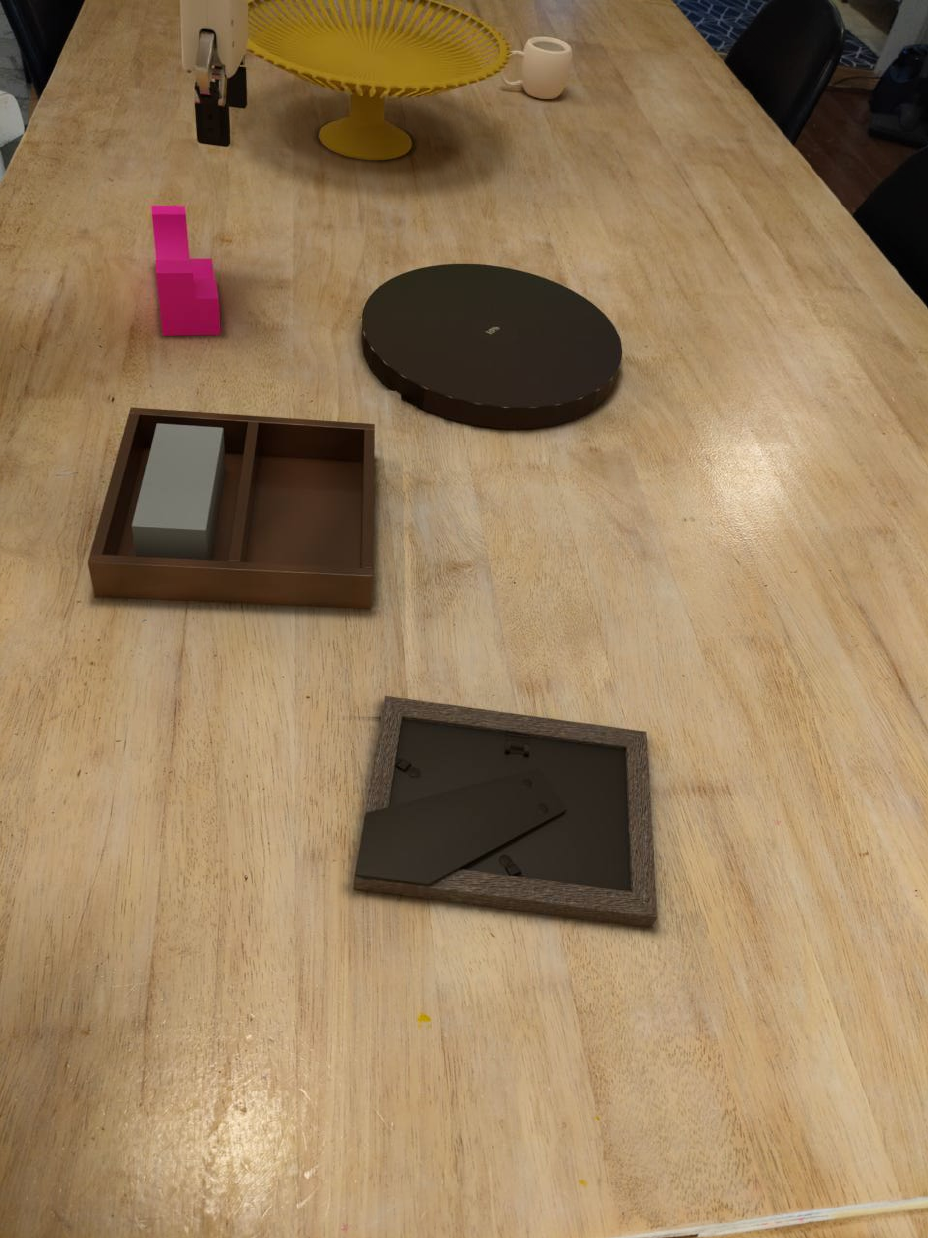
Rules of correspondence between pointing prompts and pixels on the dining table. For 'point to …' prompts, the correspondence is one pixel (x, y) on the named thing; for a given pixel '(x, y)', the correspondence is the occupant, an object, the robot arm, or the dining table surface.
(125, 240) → the dining table surface
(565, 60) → the mug
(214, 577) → the divided tray
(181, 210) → the toy block
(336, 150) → the yellow pedestal bowl
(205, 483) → the gray rectangular block
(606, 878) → the picture frame
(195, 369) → the dining table surface
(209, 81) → the robot arm
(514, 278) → the disc
